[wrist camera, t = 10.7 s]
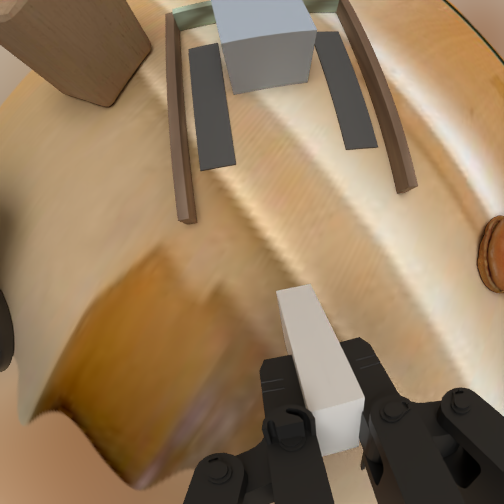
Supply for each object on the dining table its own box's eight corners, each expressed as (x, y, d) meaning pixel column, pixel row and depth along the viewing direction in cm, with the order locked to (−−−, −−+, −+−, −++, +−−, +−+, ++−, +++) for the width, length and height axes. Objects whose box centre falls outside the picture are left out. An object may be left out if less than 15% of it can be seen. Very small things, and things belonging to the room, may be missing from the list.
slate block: (233, 95, 29) (221, 43, 20) (221, 43, 29) (208, -8, 20) (307, 82, 29) (317, 29, 20) (288, 32, 29) (291, -20, 20)
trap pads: (200, 171, 29) (200, 170, 29) (189, 50, 29) (188, 49, 29) (377, 147, 28) (377, 146, 28) (337, 32, 28) (338, 31, 28)
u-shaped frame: (187, 224, 29) (176, 219, 25) (171, 28, 30) (164, 11, 26) (405, 192, 28) (420, 184, 24) (341, 8, 28) (345, -10, 25)
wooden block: (104, 38, 30) (34, -50, 10) (156, 47, 30) (90, -68, 10) (63, 95, 31) (-33, 22, 11) (111, 111, 30) (3, 15, 10)
